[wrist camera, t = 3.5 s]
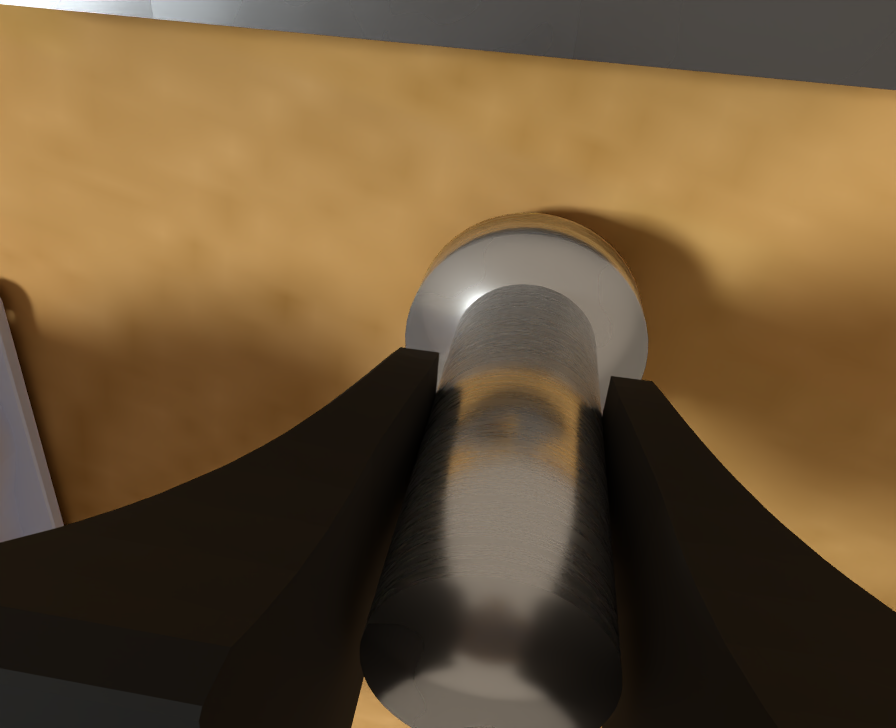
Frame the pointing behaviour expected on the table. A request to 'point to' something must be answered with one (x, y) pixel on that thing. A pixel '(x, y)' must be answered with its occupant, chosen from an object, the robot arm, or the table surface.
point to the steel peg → (510, 487)
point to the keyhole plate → (585, 30)
